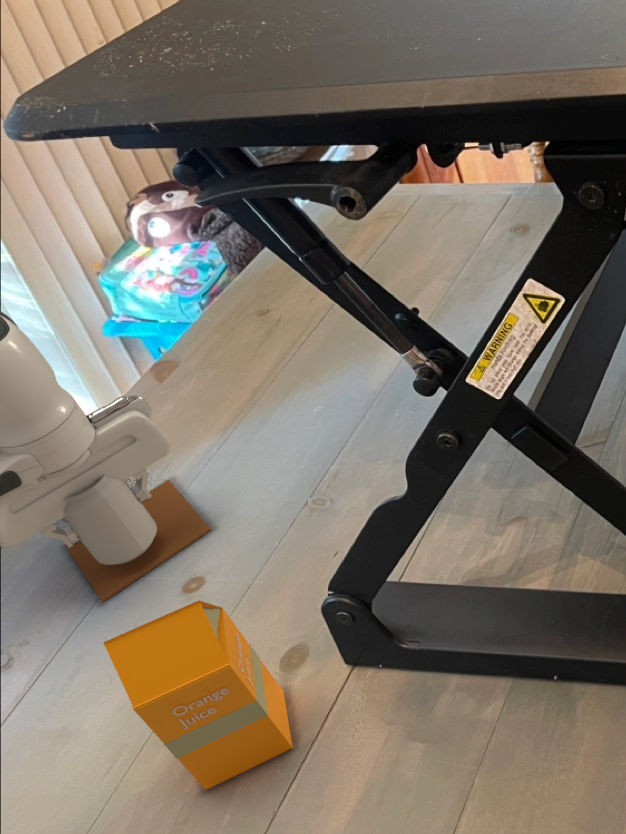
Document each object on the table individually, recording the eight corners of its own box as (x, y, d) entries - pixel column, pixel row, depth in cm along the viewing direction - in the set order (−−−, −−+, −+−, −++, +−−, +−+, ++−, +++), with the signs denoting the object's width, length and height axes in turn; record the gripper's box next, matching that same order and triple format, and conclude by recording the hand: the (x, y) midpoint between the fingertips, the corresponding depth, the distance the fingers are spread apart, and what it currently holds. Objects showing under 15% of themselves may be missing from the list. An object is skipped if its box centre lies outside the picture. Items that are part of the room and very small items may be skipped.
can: (137, 514, 135) (89, 448, 128) (172, 533, 131) (124, 465, 124) (85, 557, 130) (32, 490, 123) (120, 577, 127) (67, 510, 119)
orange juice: (293, 748, 107) (202, 629, 95) (205, 791, 105) (100, 675, 92) (284, 689, 113) (197, 570, 100) (199, 729, 111) (100, 612, 98)
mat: (103, 602, 127) (101, 600, 127) (66, 546, 136) (64, 544, 135) (211, 530, 134) (210, 528, 134) (170, 481, 142) (168, 479, 142)
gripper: (127, 377, 126) (181, 458, 135) (-54, 478, 117) (17, 559, 125) (146, 398, 122) (200, 480, 131) (-39, 504, 113) (32, 586, 121)
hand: (109, 519), depth 128 cm, fingers closed on can, 7 cm apart
